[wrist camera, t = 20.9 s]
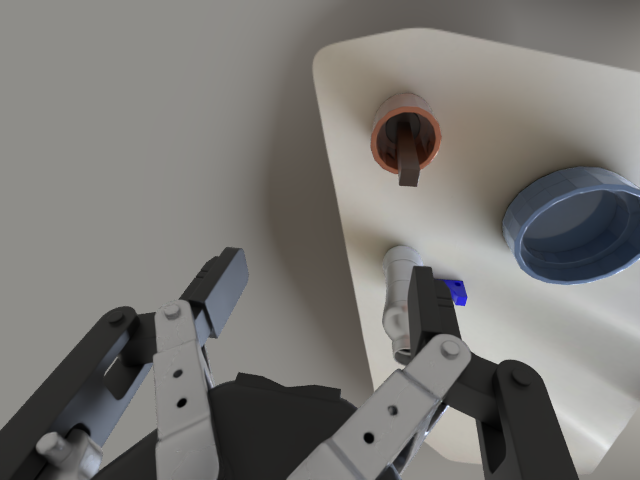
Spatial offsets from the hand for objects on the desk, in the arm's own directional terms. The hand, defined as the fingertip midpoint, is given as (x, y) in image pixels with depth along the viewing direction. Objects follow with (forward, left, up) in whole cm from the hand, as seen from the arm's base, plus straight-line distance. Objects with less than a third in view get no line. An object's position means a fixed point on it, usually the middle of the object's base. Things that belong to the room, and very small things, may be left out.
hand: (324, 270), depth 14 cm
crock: (+1, +5, -33) cm, 33 cm away
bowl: (+13, +29, -33) cm, 46 cm away
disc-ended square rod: (+2, +5, -32) cm, 33 cm away
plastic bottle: (+23, +8, -33) cm, 41 cm away
